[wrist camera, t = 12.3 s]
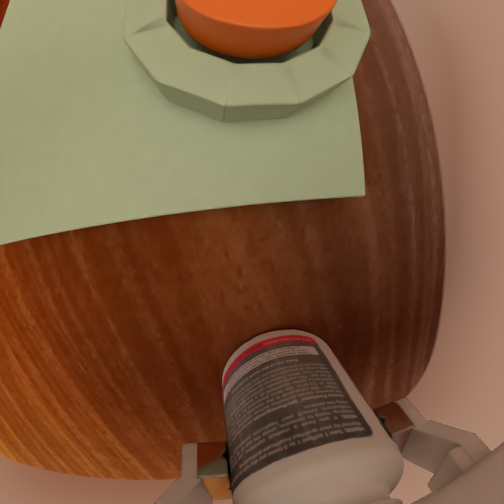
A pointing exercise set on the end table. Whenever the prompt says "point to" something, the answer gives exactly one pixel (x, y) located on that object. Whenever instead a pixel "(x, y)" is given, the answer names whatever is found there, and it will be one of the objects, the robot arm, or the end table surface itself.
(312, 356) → the pill bottle
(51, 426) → the end table surface
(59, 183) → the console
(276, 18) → the press button
